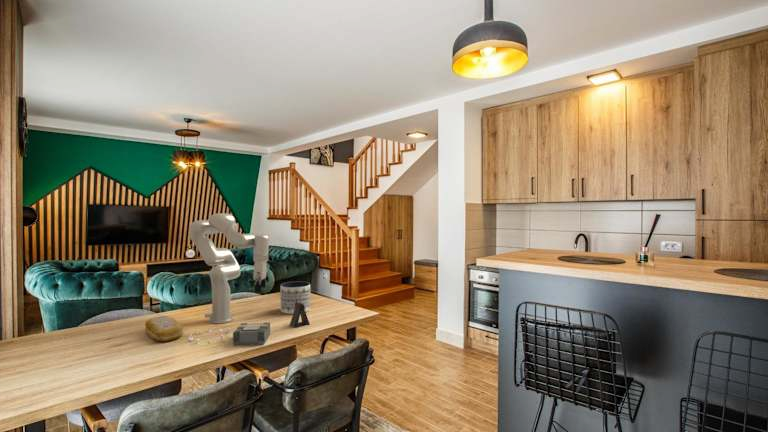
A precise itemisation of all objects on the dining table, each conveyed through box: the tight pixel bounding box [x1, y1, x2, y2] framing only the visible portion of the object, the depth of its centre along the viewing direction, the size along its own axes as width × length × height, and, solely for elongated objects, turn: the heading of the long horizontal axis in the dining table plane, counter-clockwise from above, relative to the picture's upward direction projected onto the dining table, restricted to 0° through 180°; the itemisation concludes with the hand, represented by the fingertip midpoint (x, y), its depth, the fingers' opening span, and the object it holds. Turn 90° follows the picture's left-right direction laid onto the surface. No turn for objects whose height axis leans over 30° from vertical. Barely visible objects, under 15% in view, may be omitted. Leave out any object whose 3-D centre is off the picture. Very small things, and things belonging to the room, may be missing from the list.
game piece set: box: [187, 325, 232, 345], centre depth 181 cm, size 19×20×4 cm
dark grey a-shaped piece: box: [289, 302, 310, 328], centre depth 201 cm, size 9×6×12 cm, turn 126°
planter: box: [279, 280, 311, 315], centre depth 229 cm, size 18×18×16 cm
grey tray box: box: [236, 323, 267, 331], centre depth 178 cm, size 14×9×5 cm, turn 96°
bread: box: [144, 315, 183, 343], centre depth 184 cm, size 13×26×8 cm, turn 50°
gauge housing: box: [232, 322, 271, 347], centre depth 178 cm, size 14×14×6 cm
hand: (260, 289), depth 197 cm, fingers open, 9 cm apart
